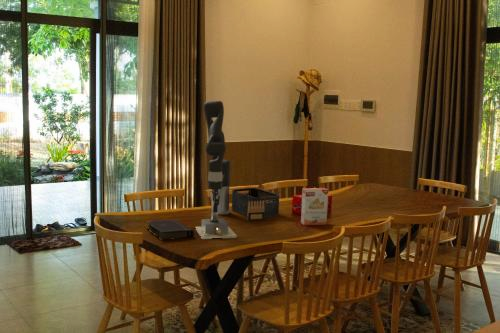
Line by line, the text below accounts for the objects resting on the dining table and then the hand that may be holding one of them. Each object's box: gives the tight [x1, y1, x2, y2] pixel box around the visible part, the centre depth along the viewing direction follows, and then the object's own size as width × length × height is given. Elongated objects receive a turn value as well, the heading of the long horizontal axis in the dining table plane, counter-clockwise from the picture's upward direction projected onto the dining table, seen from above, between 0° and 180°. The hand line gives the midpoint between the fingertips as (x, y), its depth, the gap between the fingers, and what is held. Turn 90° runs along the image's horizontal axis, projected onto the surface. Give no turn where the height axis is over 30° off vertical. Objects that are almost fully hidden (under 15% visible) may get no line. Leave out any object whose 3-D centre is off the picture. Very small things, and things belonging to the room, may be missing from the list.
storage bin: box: [231, 187, 280, 218], centre depth 351 cm, size 29×19×13 cm
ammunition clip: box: [246, 200, 266, 222], centre depth 331 cm, size 11×2×12 cm, turn 111°
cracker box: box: [300, 187, 329, 226], centre depth 325 cm, size 14×6×21 cm, turn 105°
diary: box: [146, 219, 195, 239], centre depth 298 cm, size 19×25×5 cm
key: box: [210, 195, 219, 220], centre depth 301 cm, size 4×4×12 cm
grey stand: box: [195, 218, 238, 240], centre depth 300 cm, size 22×18×6 cm
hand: (214, 211), depth 302 cm, fingers closed on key, 3 cm apart
